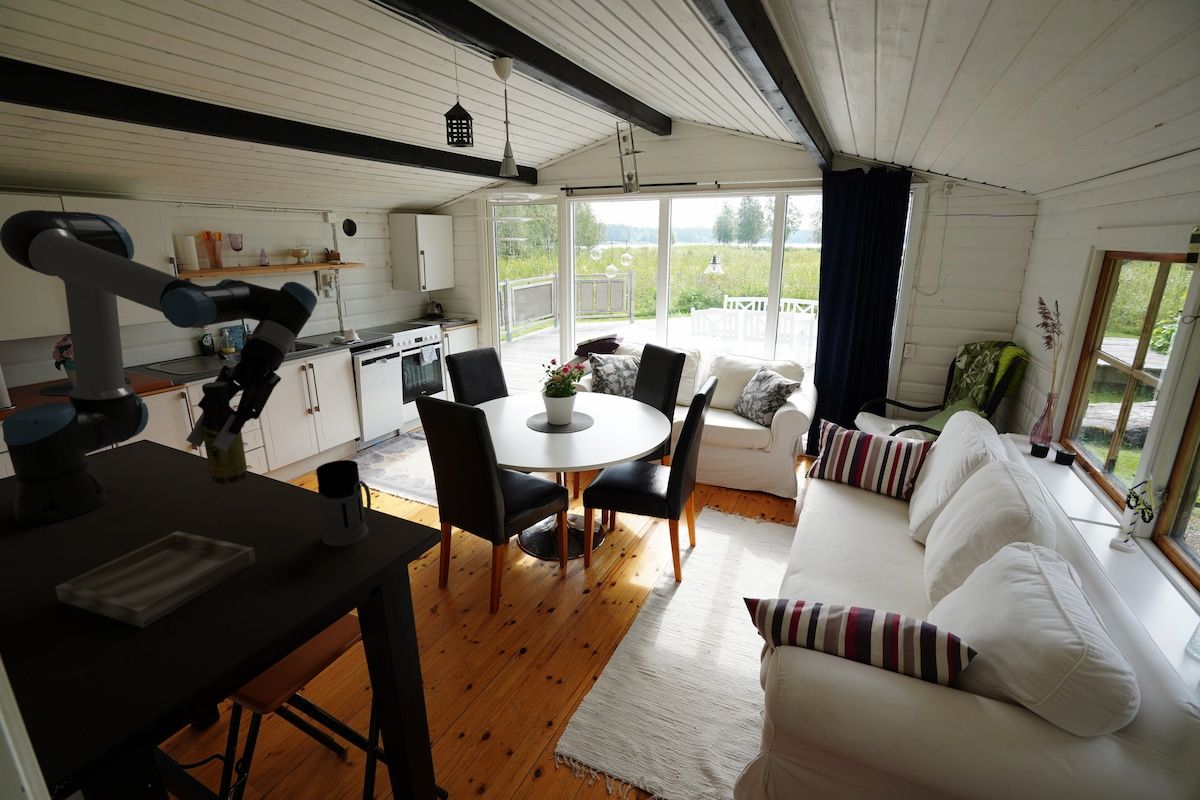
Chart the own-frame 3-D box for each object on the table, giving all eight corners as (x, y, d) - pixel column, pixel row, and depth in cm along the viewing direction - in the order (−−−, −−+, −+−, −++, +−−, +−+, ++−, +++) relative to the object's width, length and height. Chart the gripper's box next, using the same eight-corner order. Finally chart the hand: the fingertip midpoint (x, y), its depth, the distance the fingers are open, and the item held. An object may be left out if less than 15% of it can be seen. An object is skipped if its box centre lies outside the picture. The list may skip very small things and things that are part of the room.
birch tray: (59, 602, 94) (54, 586, 93) (180, 544, 112) (177, 531, 111) (143, 627, 88) (139, 611, 87) (256, 562, 106) (253, 547, 105)
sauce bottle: (208, 479, 113) (189, 383, 108) (243, 471, 118) (226, 377, 112) (217, 489, 109) (198, 389, 104) (253, 479, 113) (237, 383, 108)
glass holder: (352, 521, 122) (344, 455, 118) (394, 539, 114) (386, 470, 110) (313, 538, 115) (303, 469, 111) (354, 559, 107) (345, 485, 103)
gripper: (315, 360, 118) (258, 460, 108) (246, 354, 124) (186, 448, 114) (291, 339, 112) (228, 443, 102) (220, 333, 118) (153, 430, 107)
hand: (206, 445), depth 108 cm, fingers closed on sauce bottle, 6 cm apart
